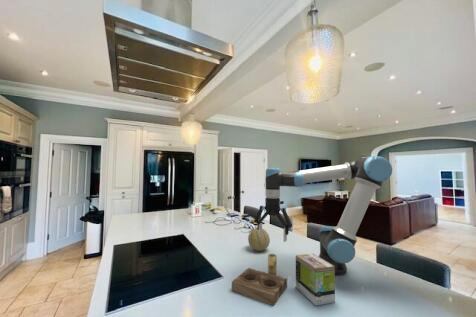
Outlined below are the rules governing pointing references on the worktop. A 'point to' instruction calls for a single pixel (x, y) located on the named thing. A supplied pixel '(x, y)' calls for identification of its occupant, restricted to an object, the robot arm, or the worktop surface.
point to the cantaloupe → (258, 240)
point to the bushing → (272, 264)
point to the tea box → (315, 278)
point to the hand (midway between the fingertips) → (272, 238)
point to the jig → (260, 285)
